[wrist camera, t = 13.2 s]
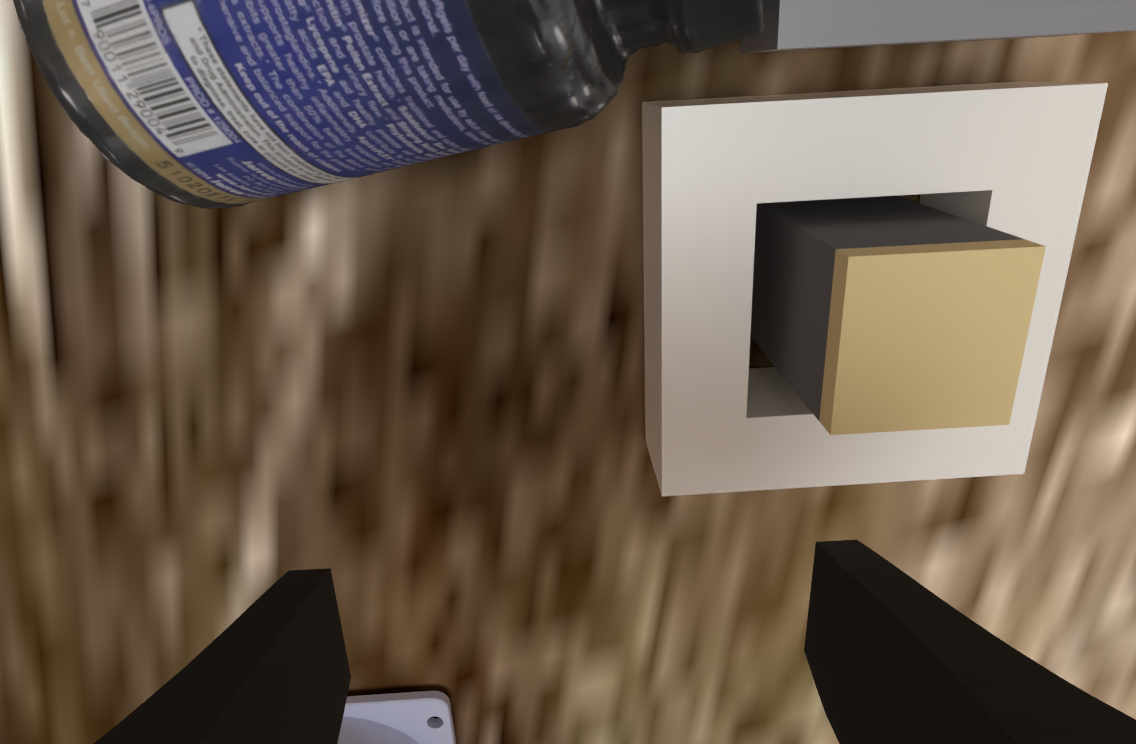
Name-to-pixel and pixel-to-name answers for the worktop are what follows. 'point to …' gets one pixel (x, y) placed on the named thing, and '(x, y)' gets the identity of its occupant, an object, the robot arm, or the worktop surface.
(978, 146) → the socket
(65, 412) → the worktop surface
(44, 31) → the pill bottle
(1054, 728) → the robot arm
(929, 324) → the plug
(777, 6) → the grey square block
